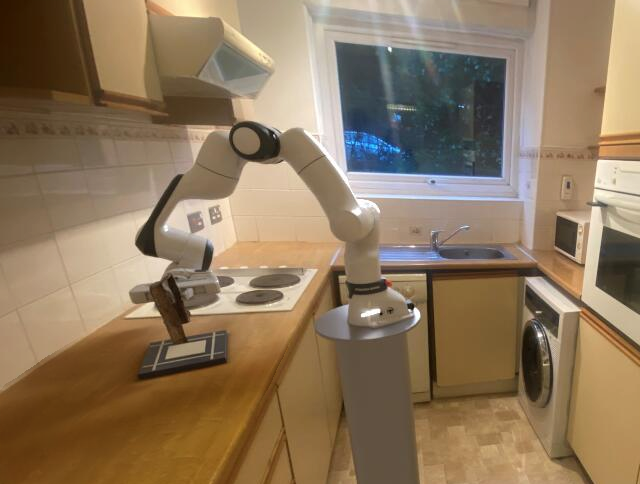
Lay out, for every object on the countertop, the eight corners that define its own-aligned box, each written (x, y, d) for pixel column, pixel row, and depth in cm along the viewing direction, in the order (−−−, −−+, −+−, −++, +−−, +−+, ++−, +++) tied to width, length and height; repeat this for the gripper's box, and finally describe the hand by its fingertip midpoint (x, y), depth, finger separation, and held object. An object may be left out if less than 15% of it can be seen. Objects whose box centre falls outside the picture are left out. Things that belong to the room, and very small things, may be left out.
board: (227, 334, 129) (226, 329, 128) (226, 362, 113) (225, 356, 112) (151, 347, 120) (149, 341, 120) (139, 379, 105) (137, 373, 104)
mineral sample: (188, 343, 108) (165, 286, 102) (169, 347, 107) (144, 290, 100) (194, 319, 122) (173, 267, 115) (176, 323, 120) (155, 271, 113)
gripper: (130, 278, 120) (120, 293, 109) (217, 268, 130) (216, 281, 119) (137, 299, 122) (128, 316, 112) (222, 288, 132) (221, 303, 121)
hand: (174, 298), depth 115 cm, fingers closed on mineral sample, 3 cm apart
